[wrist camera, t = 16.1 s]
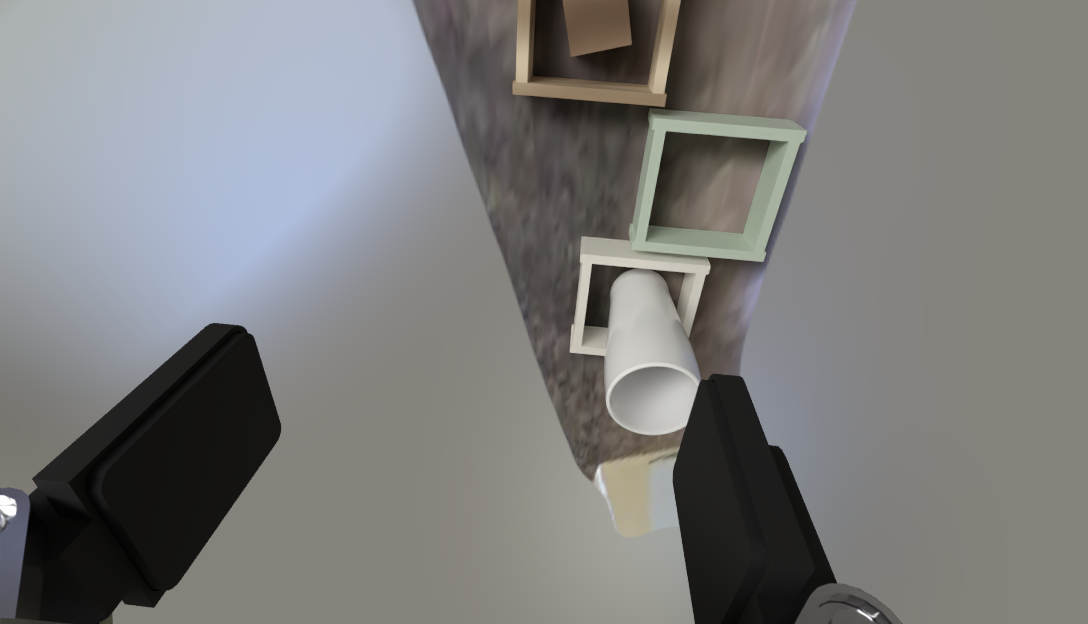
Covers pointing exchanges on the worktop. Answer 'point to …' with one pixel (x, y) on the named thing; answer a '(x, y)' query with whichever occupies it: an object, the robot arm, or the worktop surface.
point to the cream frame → (622, 255)
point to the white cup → (648, 357)
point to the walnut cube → (596, 25)
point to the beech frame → (590, 88)
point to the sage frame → (764, 202)
